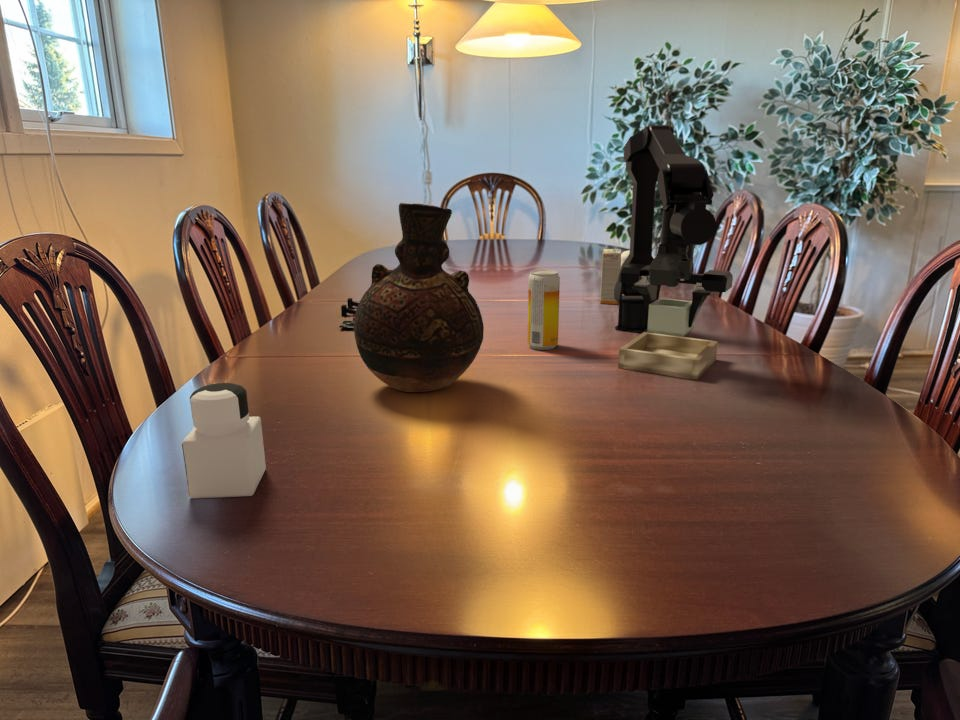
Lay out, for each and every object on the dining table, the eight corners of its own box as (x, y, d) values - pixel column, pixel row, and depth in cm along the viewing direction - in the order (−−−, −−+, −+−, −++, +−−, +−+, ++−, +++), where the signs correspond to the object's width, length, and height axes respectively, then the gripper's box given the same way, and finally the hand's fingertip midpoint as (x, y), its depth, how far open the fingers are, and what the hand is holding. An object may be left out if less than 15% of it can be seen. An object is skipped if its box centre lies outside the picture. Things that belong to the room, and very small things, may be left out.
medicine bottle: (207, 471, 84) (195, 379, 80) (266, 469, 85) (257, 377, 81) (188, 499, 77) (174, 400, 74) (253, 497, 78) (242, 397, 74)
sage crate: (647, 331, 123) (649, 304, 121) (658, 324, 128) (660, 297, 126) (683, 336, 119) (686, 308, 118) (693, 328, 125) (695, 301, 123)
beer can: (561, 344, 138) (564, 270, 134) (552, 352, 133) (553, 275, 129) (533, 341, 141) (534, 268, 136) (522, 348, 136) (523, 273, 131)
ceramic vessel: (345, 403, 106) (332, 206, 98) (368, 369, 123) (359, 198, 114) (481, 405, 105) (479, 206, 97) (485, 370, 122) (485, 198, 113)
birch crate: (618, 367, 123) (619, 349, 122) (643, 349, 135) (644, 331, 134) (697, 380, 116) (698, 360, 115) (716, 359, 128) (717, 341, 127)
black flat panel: (330, 331, 150) (398, 332, 150) (329, 318, 149) (398, 319, 150) (353, 304, 179) (410, 304, 179) (352, 293, 178) (410, 294, 178)
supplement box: (618, 304, 174) (621, 253, 170) (599, 303, 175) (601, 252, 171) (619, 298, 182) (621, 248, 178) (600, 297, 183) (603, 248, 179)
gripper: (610, 239, 117) (605, 328, 121) (722, 246, 108) (713, 342, 112) (631, 232, 126) (626, 315, 131) (737, 238, 117) (728, 327, 121)
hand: (671, 324), depth 123 cm, fingers closed on sage crate, 6 cm apart
